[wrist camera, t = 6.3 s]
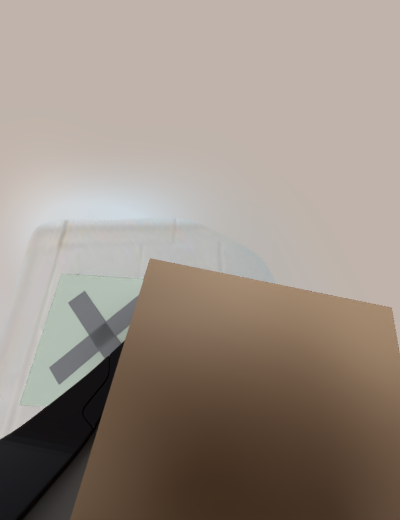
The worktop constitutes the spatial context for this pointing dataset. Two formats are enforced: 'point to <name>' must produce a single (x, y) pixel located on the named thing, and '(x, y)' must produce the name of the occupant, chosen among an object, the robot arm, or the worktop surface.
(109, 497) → the walnut block
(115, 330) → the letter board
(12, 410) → the worktop surface
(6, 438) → the robot arm
